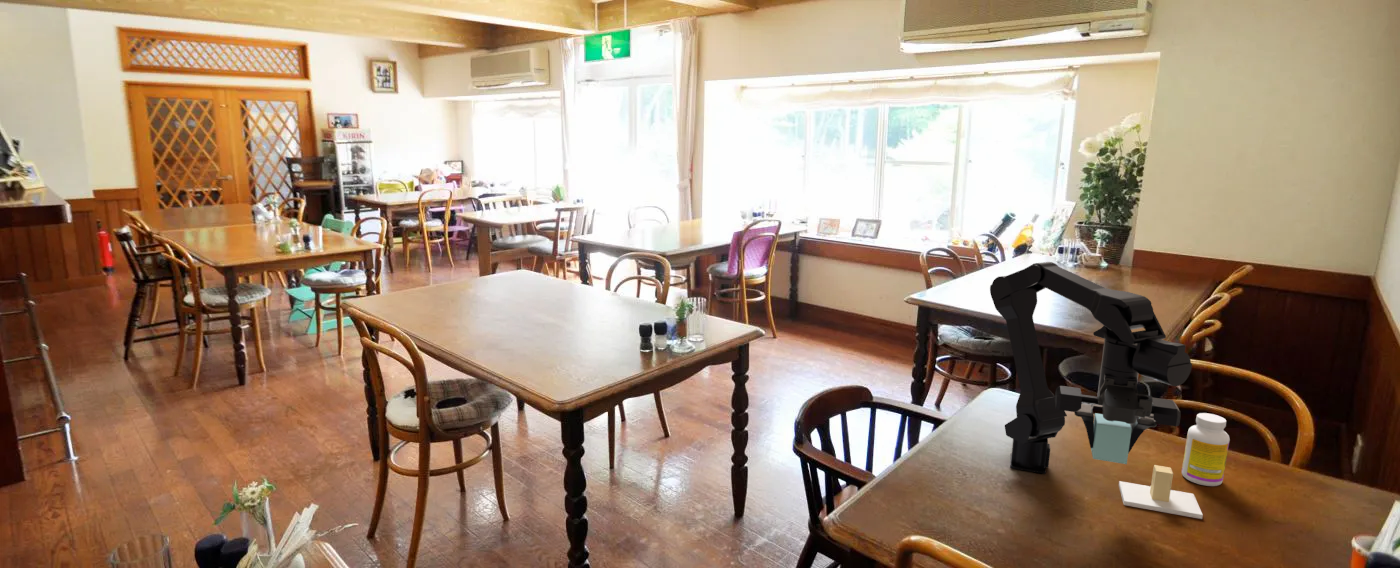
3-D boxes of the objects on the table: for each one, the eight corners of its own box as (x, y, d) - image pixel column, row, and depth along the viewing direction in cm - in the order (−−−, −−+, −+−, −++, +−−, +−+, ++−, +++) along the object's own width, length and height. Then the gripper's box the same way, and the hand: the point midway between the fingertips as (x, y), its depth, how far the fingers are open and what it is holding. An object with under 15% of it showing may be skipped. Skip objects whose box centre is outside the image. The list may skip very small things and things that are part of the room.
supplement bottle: (1228, 489, 136) (1240, 426, 133) (1190, 485, 138) (1200, 423, 135) (1212, 472, 143) (1222, 412, 140) (1175, 469, 144) (1184, 409, 141)
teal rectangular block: (1092, 458, 127) (1097, 424, 126) (1090, 446, 132) (1094, 413, 130) (1126, 464, 125) (1131, 429, 124) (1123, 451, 130) (1127, 417, 128)
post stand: (1123, 504, 131) (1128, 472, 130) (1118, 484, 138) (1122, 454, 137) (1202, 519, 126) (1207, 485, 125) (1192, 497, 133) (1197, 466, 132)
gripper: (1062, 374, 121) (1052, 459, 125) (1193, 390, 114) (1179, 480, 117) (1059, 354, 131) (1050, 434, 135) (1180, 368, 124) (1167, 452, 127)
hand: (1108, 449), depth 128 cm, fingers closed on teal rectangular block, 5 cm apart
